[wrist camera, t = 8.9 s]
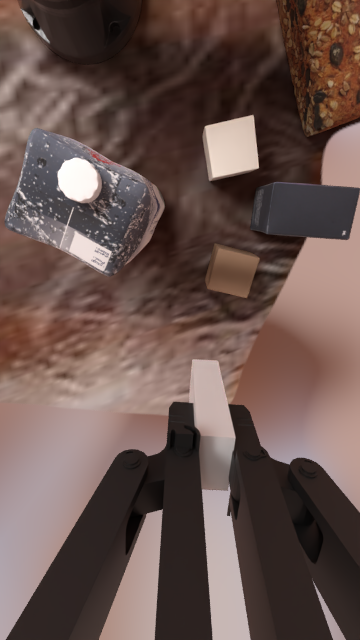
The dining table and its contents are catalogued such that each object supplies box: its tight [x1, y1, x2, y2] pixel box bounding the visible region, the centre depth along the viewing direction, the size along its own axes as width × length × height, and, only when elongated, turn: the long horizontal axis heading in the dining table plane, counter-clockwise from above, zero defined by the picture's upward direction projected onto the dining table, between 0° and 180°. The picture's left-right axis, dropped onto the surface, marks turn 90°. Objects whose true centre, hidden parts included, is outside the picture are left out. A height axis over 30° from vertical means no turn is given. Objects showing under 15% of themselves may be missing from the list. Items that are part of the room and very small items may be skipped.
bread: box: [276, 0, 360, 137], centre depth 37 cm, size 19×11×10 cm, turn 19°
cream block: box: [202, 115, 259, 181], centre depth 43 cm, size 6×6×6 cm
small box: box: [250, 182, 360, 240], centre depth 43 cm, size 11×6×10 cm, turn 86°
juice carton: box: [5, 128, 165, 276], centre depth 35 cm, size 9×10×27 cm
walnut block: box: [205, 244, 260, 298], centre depth 48 cm, size 6×6×6 cm
